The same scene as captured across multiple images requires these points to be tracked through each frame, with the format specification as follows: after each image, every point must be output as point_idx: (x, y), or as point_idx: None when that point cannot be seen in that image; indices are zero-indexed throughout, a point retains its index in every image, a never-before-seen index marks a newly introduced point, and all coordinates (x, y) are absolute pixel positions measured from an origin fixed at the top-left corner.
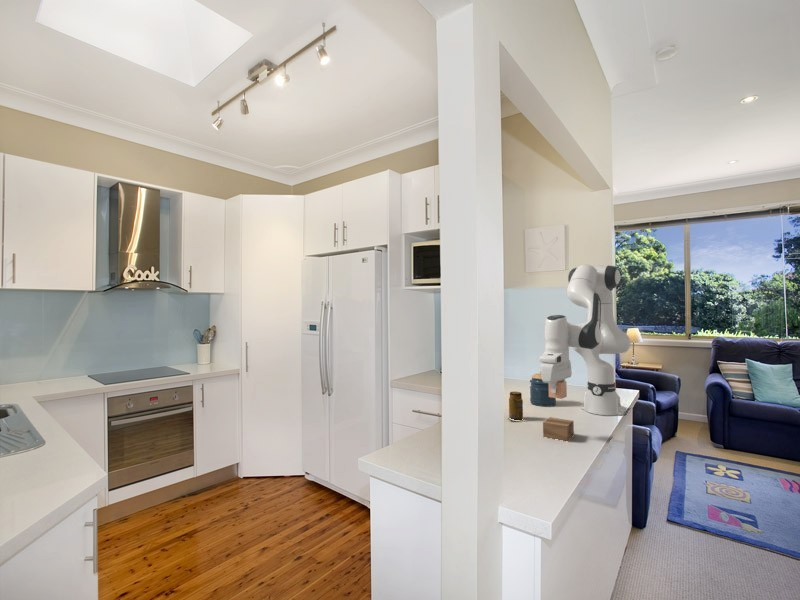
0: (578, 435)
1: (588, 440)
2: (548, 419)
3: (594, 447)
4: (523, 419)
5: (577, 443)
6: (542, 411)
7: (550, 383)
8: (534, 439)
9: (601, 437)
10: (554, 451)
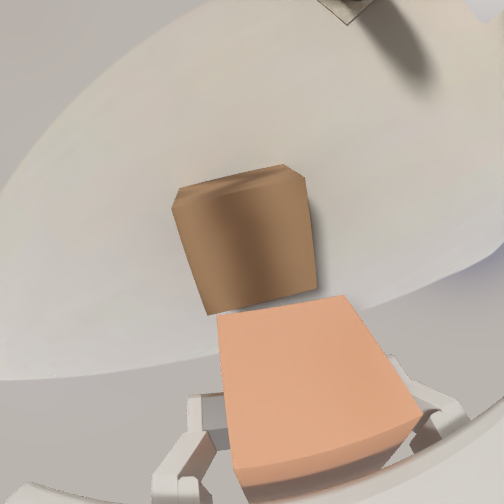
0: None
1: None
2: (251, 196)
3: None
4: (360, 3)
5: None
6: (481, 49)
7: (157, 487)
8: (124, 182)
9: None
10: (88, 297)
